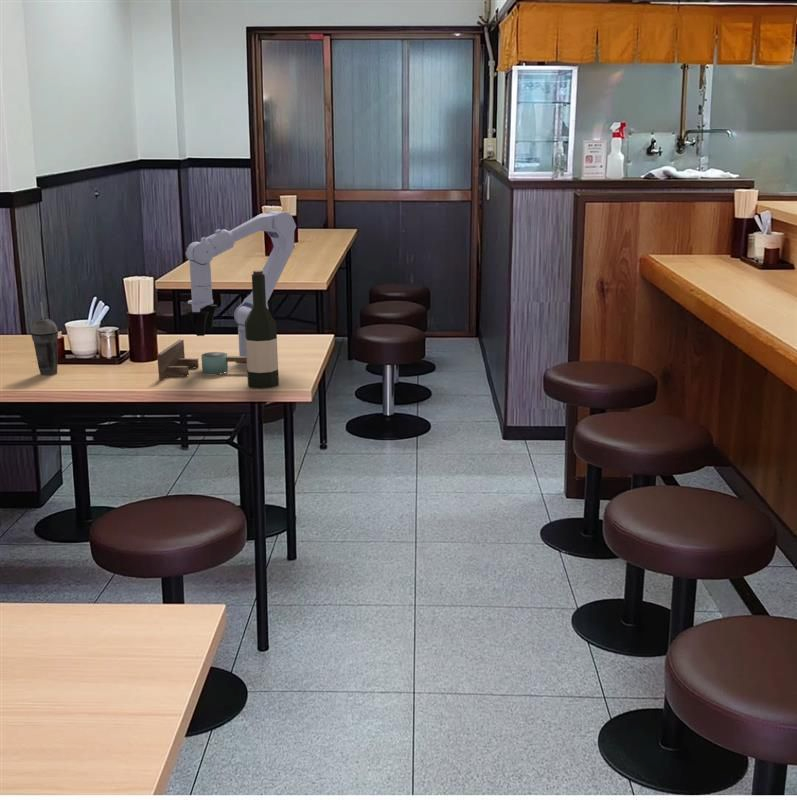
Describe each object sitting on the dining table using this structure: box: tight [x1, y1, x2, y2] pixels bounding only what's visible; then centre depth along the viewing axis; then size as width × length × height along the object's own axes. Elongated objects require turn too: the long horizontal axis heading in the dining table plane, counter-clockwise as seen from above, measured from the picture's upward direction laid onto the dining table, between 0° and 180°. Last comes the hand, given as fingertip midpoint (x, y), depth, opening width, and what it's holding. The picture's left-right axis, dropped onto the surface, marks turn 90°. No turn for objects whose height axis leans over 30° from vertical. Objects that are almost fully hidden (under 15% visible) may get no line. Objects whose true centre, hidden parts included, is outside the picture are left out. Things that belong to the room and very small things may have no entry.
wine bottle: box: [245, 270, 280, 389], centre depth 262 cm, size 8×8×30 cm
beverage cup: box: [30, 301, 59, 376], centre depth 278 cm, size 7×7×20 cm
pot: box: [201, 351, 247, 375], centre depth 280 cm, size 14×7×5 cm, turn 85°
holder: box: [156, 339, 200, 380], centre depth 281 cm, size 6×20×7 cm, turn 175°
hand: (204, 333), depth 286 cm, fingers open, 7 cm apart
